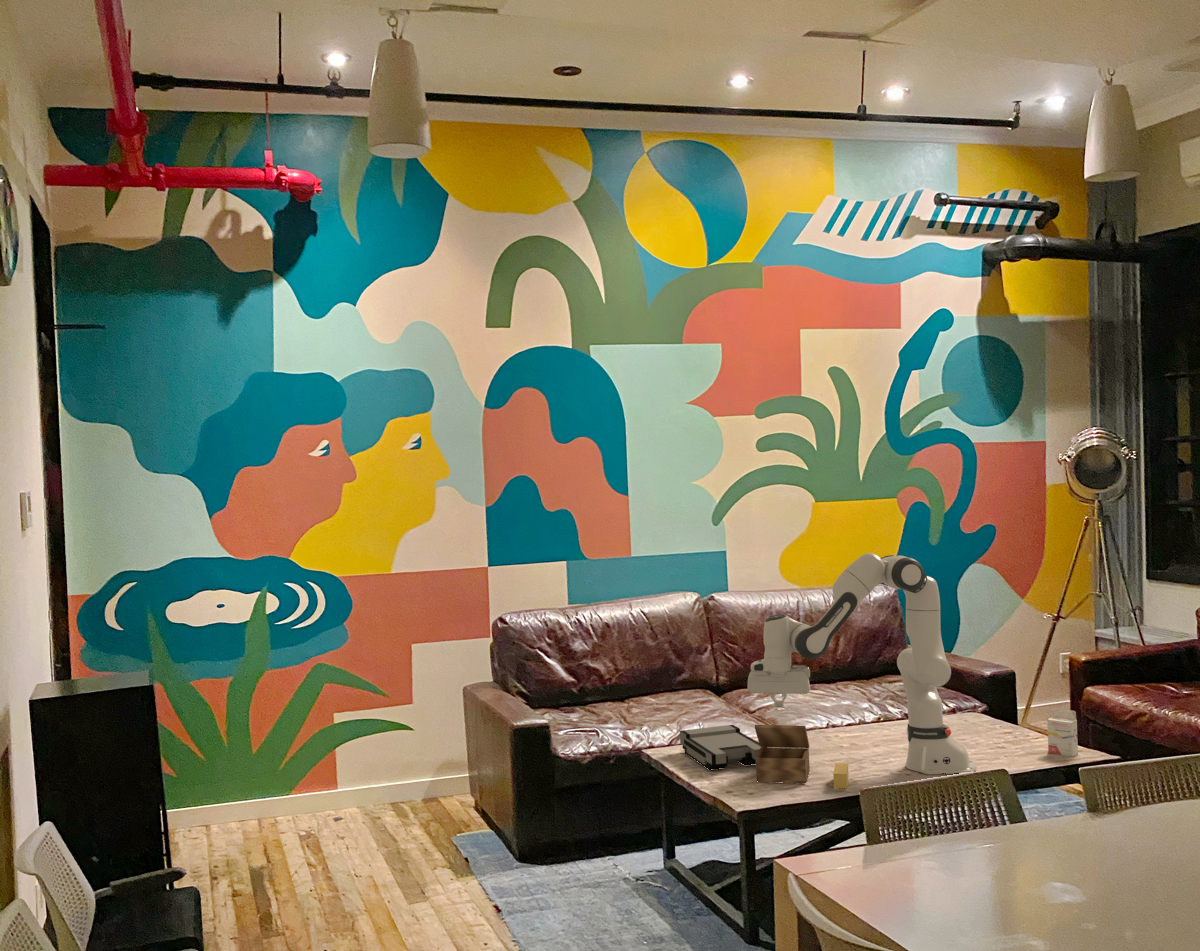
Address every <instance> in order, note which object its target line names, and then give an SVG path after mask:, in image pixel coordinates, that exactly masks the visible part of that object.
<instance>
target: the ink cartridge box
mask: <svg viewBox="0 0 1200 951" xmlns="http://www.w3.org/2000/svg"><path fill="white" fill-rule="evenodd" d="M1051 711H1052V716H1051V717H1050V718H1048V719H1047V745H1048V746H1047V749H1048V750H1047V751H1048V753H1049V754H1054V755H1059V756H1060V755H1061V756H1067V757H1075V755H1076V756H1077V754H1079V747H1078V745H1079V744H1078V742H1079V741H1078V720H1077V712H1076V711H1075V710H1068V709H1061V708H1056V707H1053V708H1052V709H1051ZM1061 713H1062V714H1061ZM1063 713H1064V714H1063Z"/></svg>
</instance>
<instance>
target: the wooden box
mask: <svg viewBox="0 0 1200 951" xmlns="http://www.w3.org/2000/svg"><path fill="white" fill-rule="evenodd" d="M755 760H756V765H755V777H756V778H755V779H756V781H755V782H756V783H757V781H758V782H783V783H782V784H788V783H806V782H807V783H808V780H809V776H810V773H809V772H811V770H810V767H811V766H810V748H778V747H768V748H765V747H761V748H760V750H759V752H758V754H757V756H756V758H755ZM808 775H809V776H808ZM807 779H808V780H807ZM807 783H806V784H807Z"/></svg>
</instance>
